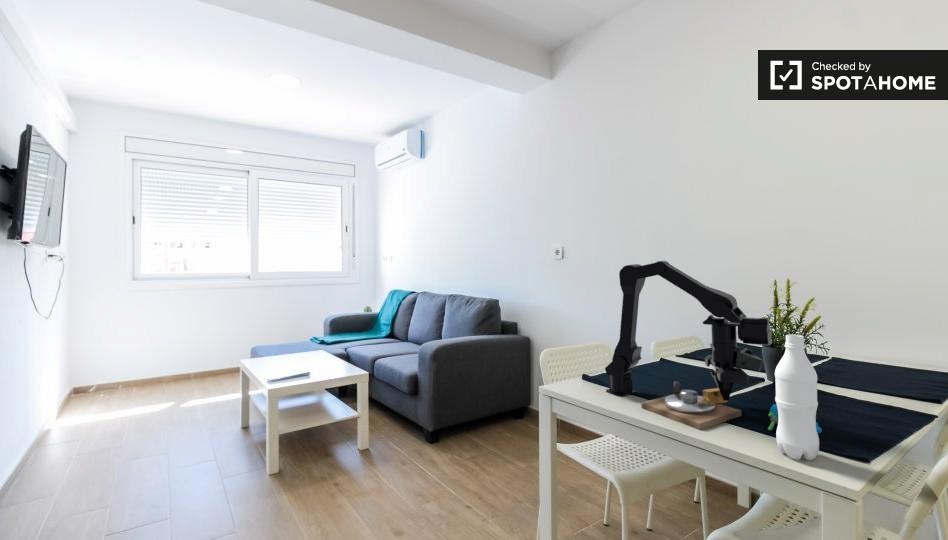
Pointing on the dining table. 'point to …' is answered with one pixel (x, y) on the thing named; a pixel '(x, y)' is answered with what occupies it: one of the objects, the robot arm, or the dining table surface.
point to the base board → (693, 420)
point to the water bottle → (796, 401)
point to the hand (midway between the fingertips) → (726, 400)
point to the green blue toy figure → (774, 416)
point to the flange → (694, 401)
